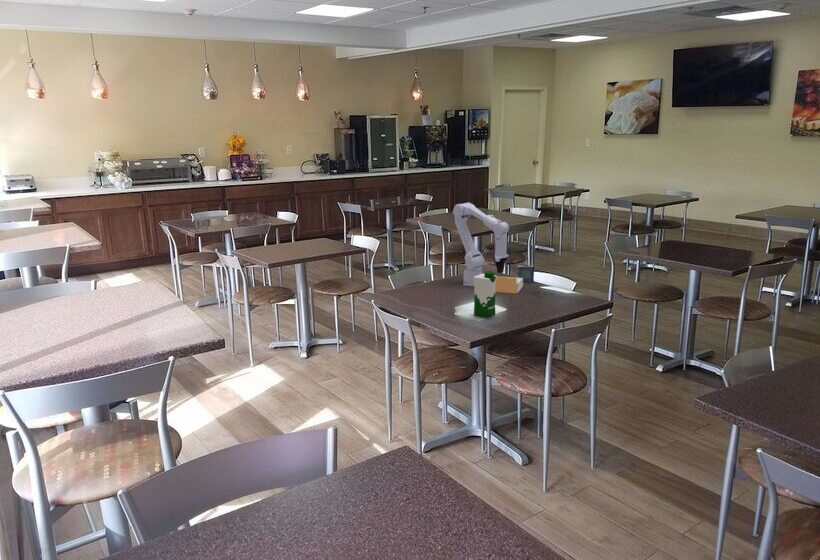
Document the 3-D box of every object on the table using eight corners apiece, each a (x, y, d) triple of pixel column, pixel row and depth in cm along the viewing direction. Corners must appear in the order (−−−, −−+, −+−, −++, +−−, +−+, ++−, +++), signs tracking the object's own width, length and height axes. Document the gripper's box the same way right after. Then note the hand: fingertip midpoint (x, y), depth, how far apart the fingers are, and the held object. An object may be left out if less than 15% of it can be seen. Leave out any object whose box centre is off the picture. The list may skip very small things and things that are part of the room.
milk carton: (487, 319, 263) (488, 275, 258) (470, 315, 269) (470, 272, 264) (498, 314, 270) (499, 271, 265) (481, 310, 275) (481, 268, 270)
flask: (516, 282, 323) (516, 263, 321) (516, 281, 326) (517, 261, 324) (533, 283, 321) (534, 263, 319) (533, 281, 324) (534, 262, 321)
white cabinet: (478, 291, 308) (478, 281, 307) (485, 284, 321) (485, 275, 319) (517, 294, 301) (517, 284, 300) (522, 287, 313) (523, 278, 312)
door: (478, 290, 307) (479, 275, 305) (479, 290, 307) (479, 275, 305) (515, 293, 300) (516, 278, 298) (516, 293, 301) (516, 277, 299)
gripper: (505, 249, 295) (504, 276, 299) (511, 244, 308) (511, 269, 312) (491, 248, 298) (491, 275, 301) (498, 243, 311) (497, 268, 314)
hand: (500, 272), depth 307 cm, fingers closed
